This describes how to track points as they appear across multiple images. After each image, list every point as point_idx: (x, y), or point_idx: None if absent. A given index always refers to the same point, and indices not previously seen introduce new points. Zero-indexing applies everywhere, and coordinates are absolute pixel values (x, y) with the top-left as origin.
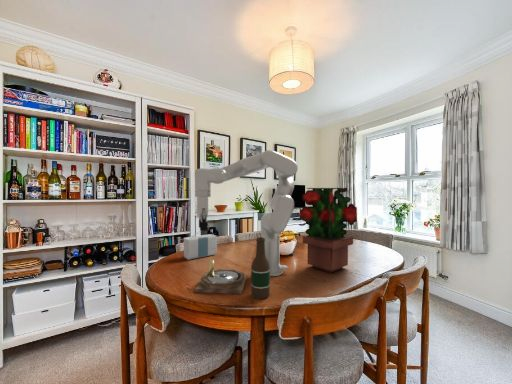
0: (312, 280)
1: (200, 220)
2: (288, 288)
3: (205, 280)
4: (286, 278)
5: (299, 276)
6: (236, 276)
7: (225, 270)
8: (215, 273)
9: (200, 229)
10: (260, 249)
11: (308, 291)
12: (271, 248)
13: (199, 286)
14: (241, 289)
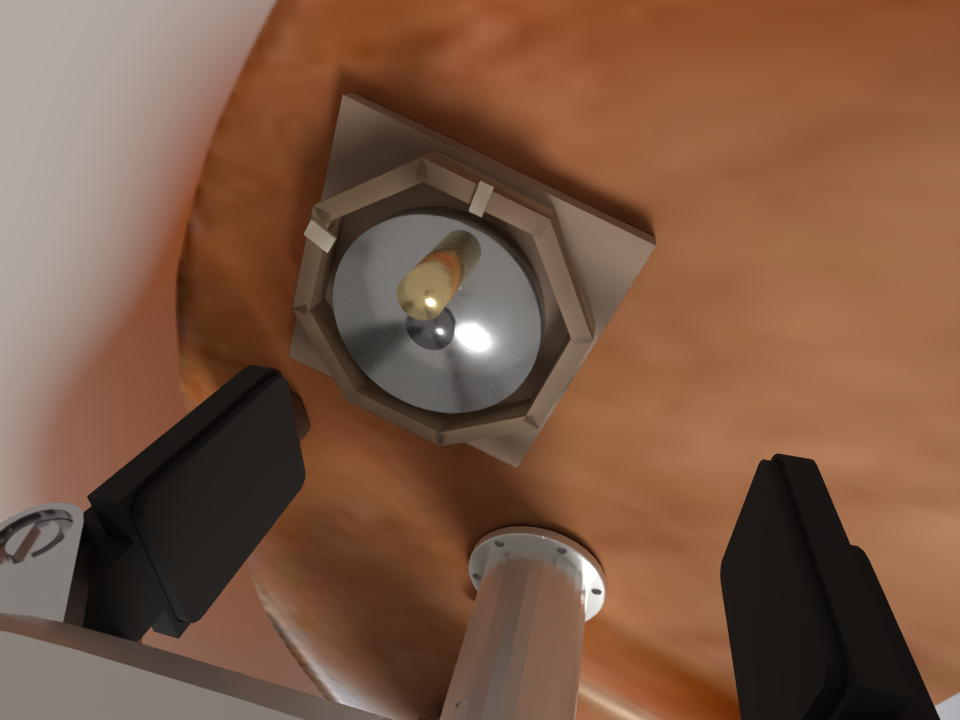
0: (387, 629)
1: (807, 683)
2: (327, 527)
3: (372, 186)
4: (434, 579)
5: (441, 625)
6: (401, 392)
7: (550, 372)
8: (498, 289)
9: (235, 376)
10: None
11: (291, 561)
12: (443, 708)
13: (378, 131)
14: (297, 358)
